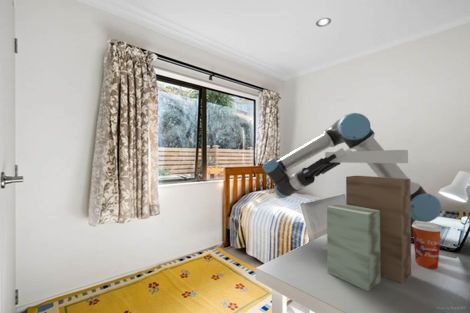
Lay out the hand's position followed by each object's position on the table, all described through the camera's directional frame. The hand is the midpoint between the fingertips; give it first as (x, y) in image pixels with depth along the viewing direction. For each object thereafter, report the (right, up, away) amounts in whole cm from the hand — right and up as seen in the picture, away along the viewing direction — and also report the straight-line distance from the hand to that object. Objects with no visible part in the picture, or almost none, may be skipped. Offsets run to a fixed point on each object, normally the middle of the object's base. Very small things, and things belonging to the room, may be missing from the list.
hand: (347, 151), depth 79 cm
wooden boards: (+1, -39, -12) cm, 41 cm away
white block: (+3, -4, -4) cm, 6 cm away
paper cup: (+24, -39, -6) cm, 46 cm away
